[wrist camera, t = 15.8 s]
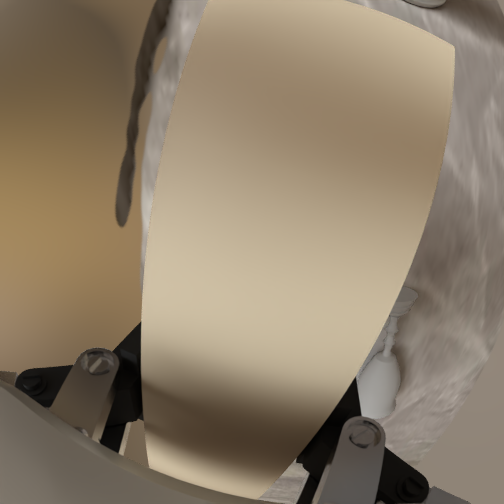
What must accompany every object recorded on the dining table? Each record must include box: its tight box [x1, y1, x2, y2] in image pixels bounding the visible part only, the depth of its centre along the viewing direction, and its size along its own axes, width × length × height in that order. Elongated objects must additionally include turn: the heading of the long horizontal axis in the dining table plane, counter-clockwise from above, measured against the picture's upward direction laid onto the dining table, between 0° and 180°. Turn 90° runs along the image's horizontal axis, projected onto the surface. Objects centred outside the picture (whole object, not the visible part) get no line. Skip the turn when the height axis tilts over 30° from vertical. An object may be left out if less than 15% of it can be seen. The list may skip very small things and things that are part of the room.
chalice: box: [357, 286, 418, 419], centre depth 31 cm, size 7×7×18 cm
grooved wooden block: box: [141, 0, 455, 500], centre depth 9 cm, size 20×4×6 cm, turn 166°
